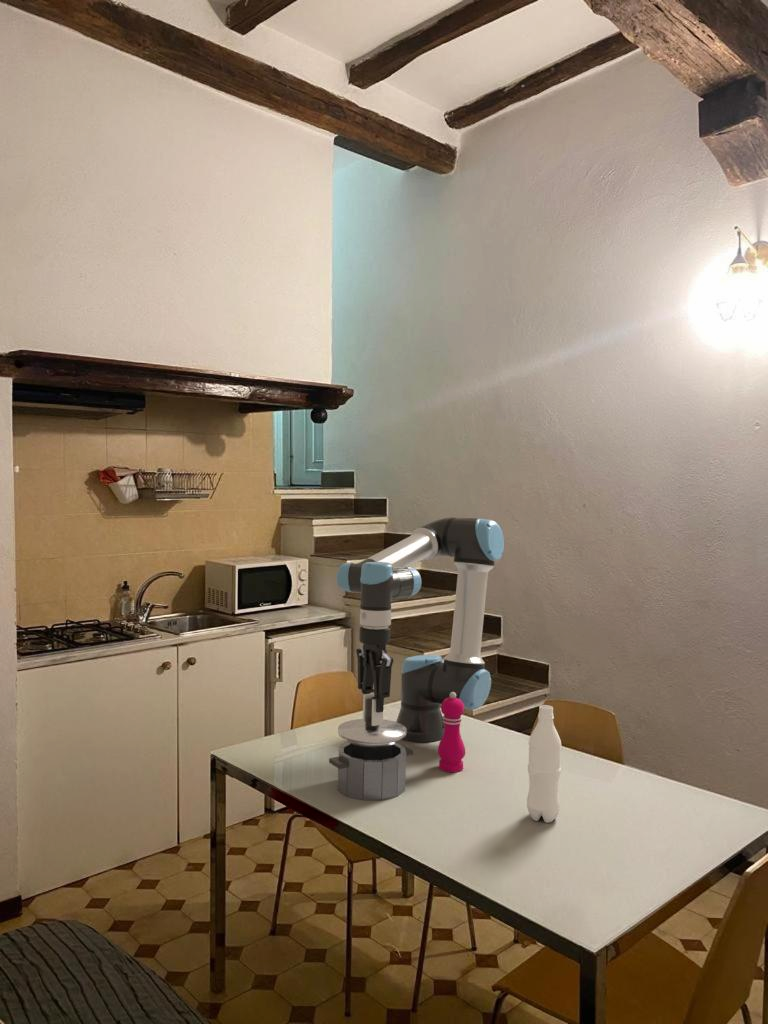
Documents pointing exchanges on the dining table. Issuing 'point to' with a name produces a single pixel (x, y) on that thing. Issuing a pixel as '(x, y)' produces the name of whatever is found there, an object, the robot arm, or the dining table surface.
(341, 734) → the lid
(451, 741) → the pepper mill
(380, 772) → the pot
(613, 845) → the dining table surface
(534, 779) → the water bottle
